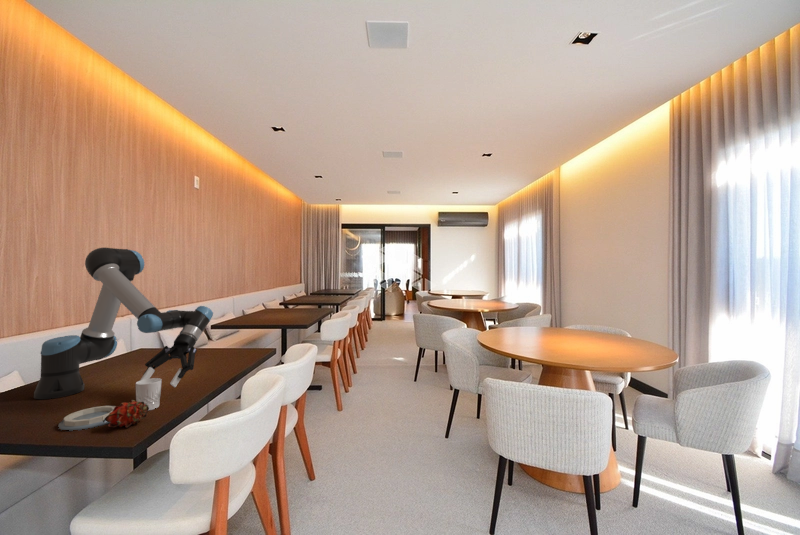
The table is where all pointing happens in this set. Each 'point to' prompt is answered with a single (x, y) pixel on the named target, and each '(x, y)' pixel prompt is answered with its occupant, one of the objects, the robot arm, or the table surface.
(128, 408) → the dragon fruit
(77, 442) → the table surface
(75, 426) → the ring plate
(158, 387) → the white cup
